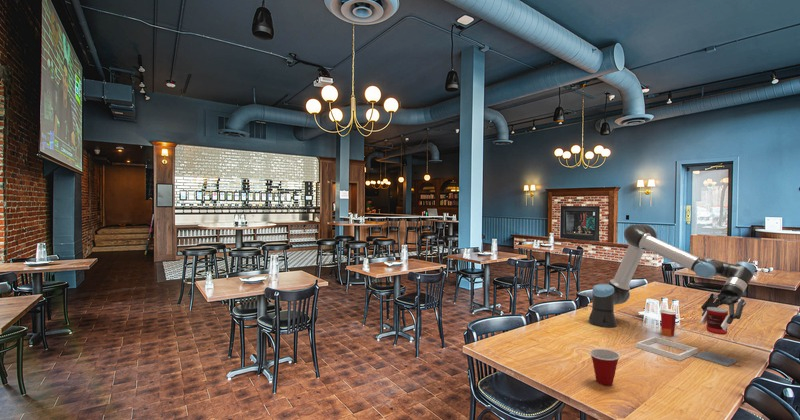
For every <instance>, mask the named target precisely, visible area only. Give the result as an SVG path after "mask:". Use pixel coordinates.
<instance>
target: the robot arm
mask: <svg viewBox="0 0 800 420" xmlns="http://www.w3.org/2000/svg"><path fill="white" fill-rule="evenodd" d="M658 235H659V234H658V231H657V229H656V228H655V227H654V226H653V225H650V224H645V223H643V224H631V225H628V226H627V227H626V228H625V229H624V232H623V237H624V239H625V240H626V242H627V244H628V246H627V248H626V250H625V253H624V254H623V255H624V256H623V257H622V259H621V262H620V265H619V267H618V269H617V271H616V273H615V275H614V278H612V279H610V280H609V282H608V283H607V284H606V283H605V284H604V283H603V284H601V283H600V284H595V285H593V286H592V291H591V293H592V300H591V301H592V306H591V308H592V309H591V312H590V315H589V316H588V317H589V318H588V323H589V324H591V325H593V326H597V327H603V328H616V327H617V324H618V321H617V319H616V315H615V312H614V309H615V305H621V304H625V303H626V302H627V301H628V300H629V299H630V296H631V295H630V290H631V287H630V283H631V281H632V279H633V277H634V274H635V272H636V269H637V268H638V266H639V264H640V262H641V259H642V257H643V255H644V254H645V253H644V252H646V251H650V252H652V253H654V254H655V255H658V256H660V257H662V258H664V259H666V260H668V261H671V262H673V263H675V264H677V265H679V266H682V267H683V268H686V269H687V270H690V271H692V272H693V273H694V274H696V276H698V277H700V278H704V279H708V278H710V279H711V278H712V277H718V276H719V277H723V278H726V279H727V280H726V281H725V283H724V285H723V287H721V289H720V293H719V294H714V293H710V295H709V297H708V299H706V301H704V303H703V304H702V305H701V306H700V309H701V310H702V314H701V316H702V317H701V318H700V322H701V324H702V325H704V326H705V325H706V324H707V307H717V308H719V307H720V306H723V305H727V306H728V315H727V316H726V318H725V319H724V321H723V323H722V325H721V327H722V328H723V330H725V329H726V328H727V329H728V327H729V325H731V324H732V323H733V321H734V320H740V319H741V317H742V314H743V311H744V307H745V306H746V305H747V302H746V301H745V299H743V298H742V299H741V297H742V296H743V294H744V292H745V290H747V287H748V285H749V283H750V282H751V280H752V278H753V277H754V274H755V272H756V267H755V266H754V264H752V263H750V262H747V261H738V262H736V264H735V263H728V262H725V261H721V260H717V259H715V258H713V259H712V258H705V259H703V258H701V257H699V256H697V255H695V254H692V253H690V252H687V251H685V250H684V249H681V248H679V247H677V246H674V245H672V244H669V243H667V242H665V241H663V240H661V239H659V238H658ZM735 304H737V305H736V309H735Z"/></svg>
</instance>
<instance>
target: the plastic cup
mask: <svg viewBox="0 0 800 420" xmlns="http://www.w3.org/2000/svg"><path fill="white" fill-rule="evenodd" d="M589 355H590V356H591V361H592V364H593V365H592V366H593V370H594V375H595V381H596V383H597V384H599V385H603V386H608V387H609V386H610V387H611V386H613V384H614V379H615V377H616V376H615V375H616V371H617V366H618V363H619V359H620V355H621V354H619V353H618V352H616V351H614V350H610V349H607V348H594V349H590V350H589Z"/></svg>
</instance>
